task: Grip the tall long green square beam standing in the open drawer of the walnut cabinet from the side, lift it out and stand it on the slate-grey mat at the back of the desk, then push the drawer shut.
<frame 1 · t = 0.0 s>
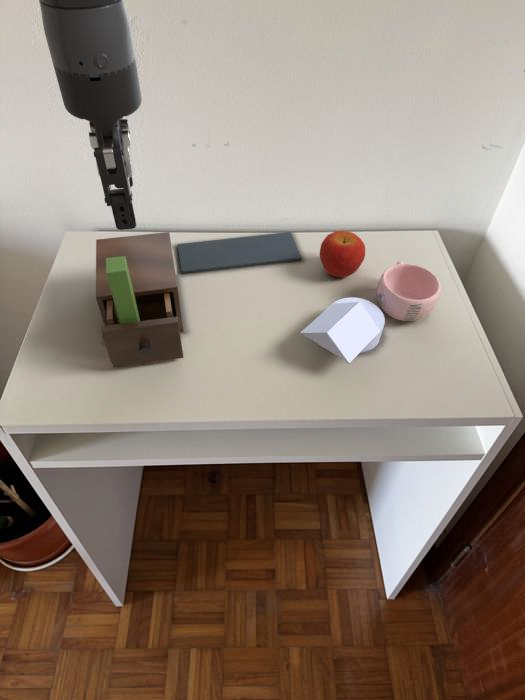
hand: (125, 206, 59), 25 cm above the table, tool pointing down, fingers open, 8 cm apart
wedge on round base: (345, 339, 80), on the table
apple: (338, 272, 91), on the table
long green square beam: (135, 341, 75), point 2 cm above the table, touching drawer
mat: (238, 253, 93), on the table
drawer: (142, 318, 75), point 5 cm above the table, slide at 5.0 cm, touching long green square beam
cabinet: (144, 307, 83), on the table
mug: (400, 304, 85), on the table
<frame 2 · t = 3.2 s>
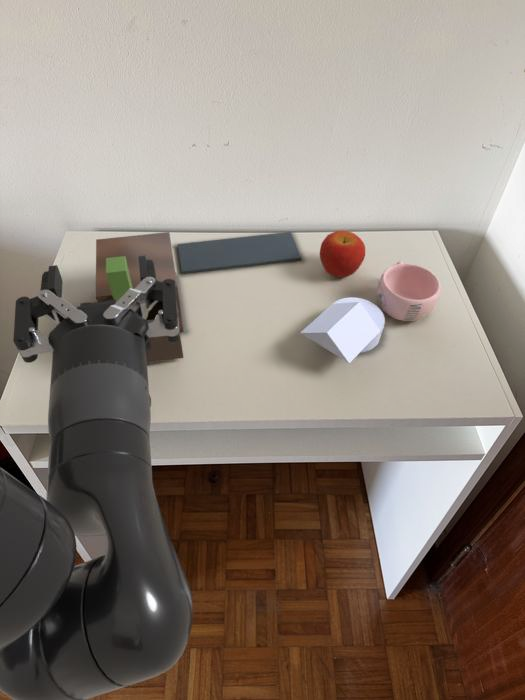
hand: (100, 267, 50), 26 cm above the table, tool horizontal, fingers open, 8 cm apart
nothing on the table moved.
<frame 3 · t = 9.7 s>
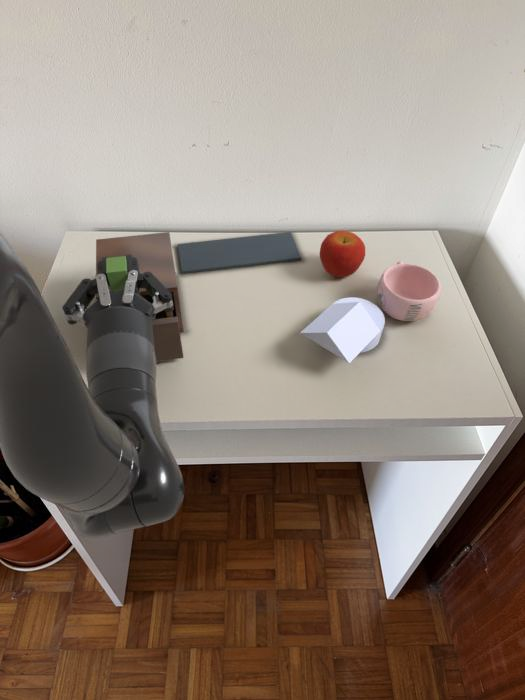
hand: (117, 260, 67), 15 cm above the table, tool horizontal, fingers closed on long green square beam, 2 cm apart
long green square beam: (135, 341, 75), point 2 cm above the table, touching drawer, gripper
everything else where it was.
when the fingers open (14 cm above the table, at t = 19.8 s): long green square beam stays where it is, resting on mat.
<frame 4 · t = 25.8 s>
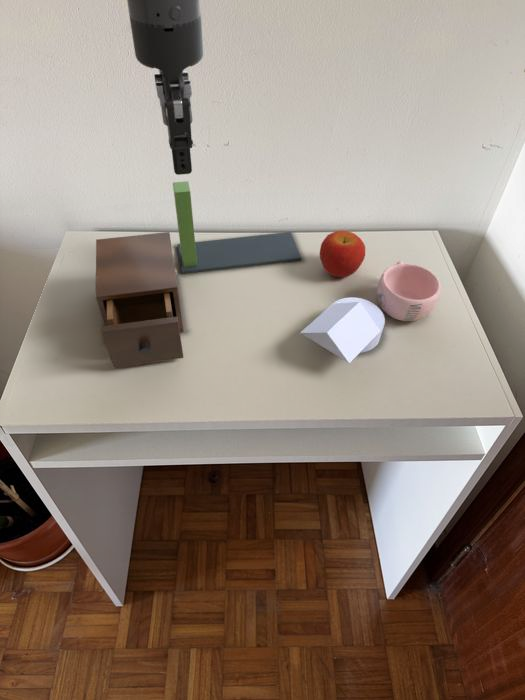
hand: (180, 159, 65), 25 cm above the table, tool pointing down, fingers open, 5 cm apart
long green square beam: (189, 261, 90), point 1 cm above the table, touching mat
drawer: (142, 318, 75), point 5 cm above the table, slide at 5.0 cm
everything else where it was.
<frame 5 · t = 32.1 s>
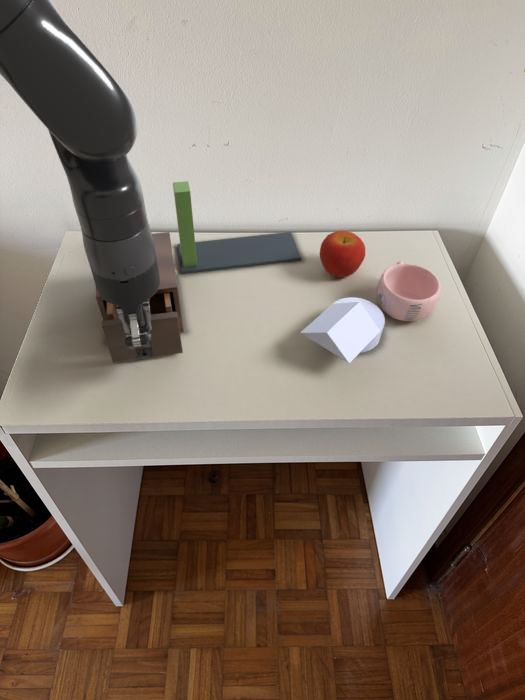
hand: (145, 353, 70), 5 cm above the table, tool pointing down, fingers closed
drawer: (142, 313, 75), point 5 cm above the table, slide at 4.0 cm, touching gripper
everything else where it was.
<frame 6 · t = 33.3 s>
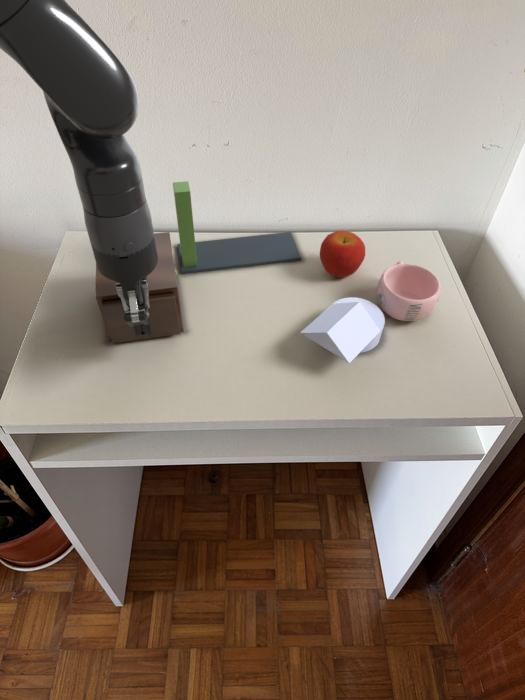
hand: (143, 332, 73), 5 cm above the table, tool pointing down, fingers closed
drawer: (140, 295, 78), point 5 cm above the table, slide at 0.0 cm, touching gripper
everything else where it was.
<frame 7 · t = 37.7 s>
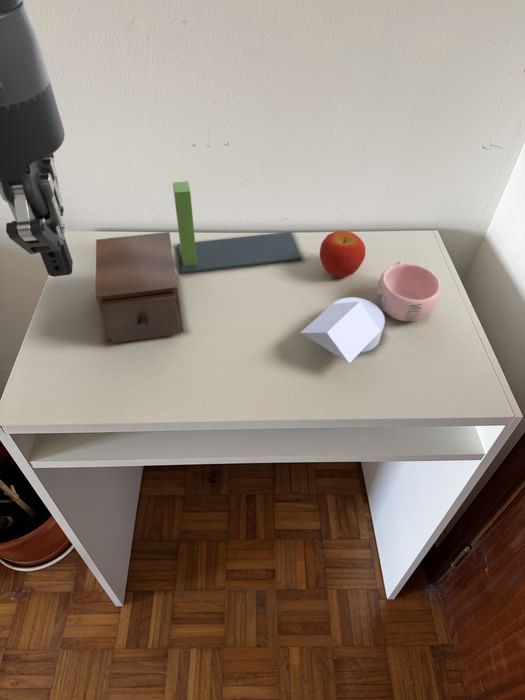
hand: (61, 270, 48), 27 cm above the table, tool pointing down, fingers closed
drawer: (140, 295, 78), point 5 cm above the table, slide at 0.0 cm
everything else where it was.
at the end: long green square beam inside the target area on the mat (9.4 cm from its centre), point 0.6 cm above the mat's base; long green square beam tilted 0°; drawer slide at 0.0 cm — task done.
